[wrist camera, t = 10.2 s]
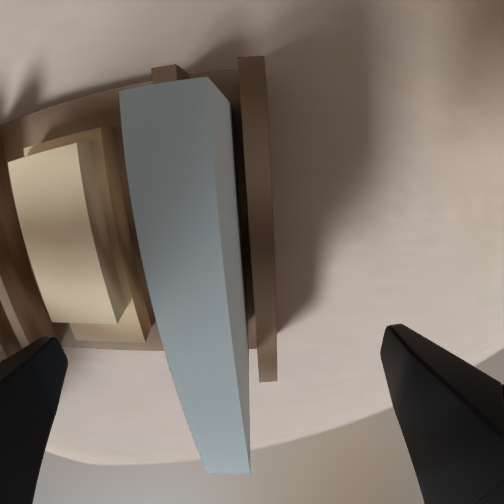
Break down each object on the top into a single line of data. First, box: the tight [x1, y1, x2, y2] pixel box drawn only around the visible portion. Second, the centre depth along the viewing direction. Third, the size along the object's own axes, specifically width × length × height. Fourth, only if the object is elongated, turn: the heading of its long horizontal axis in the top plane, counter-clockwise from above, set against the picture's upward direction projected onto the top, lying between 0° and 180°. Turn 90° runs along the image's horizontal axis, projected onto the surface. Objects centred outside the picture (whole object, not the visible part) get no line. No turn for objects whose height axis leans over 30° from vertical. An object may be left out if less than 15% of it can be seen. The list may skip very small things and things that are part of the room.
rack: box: [0, 56, 277, 382], centre depth 15 cm, size 16×20×4 cm
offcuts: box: [8, 126, 152, 343], centre depth 15 cm, size 12×5×3 cm, turn 3°
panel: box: [119, 77, 250, 474], centre depth 12 cm, size 12×2×10 cm, turn 3°
